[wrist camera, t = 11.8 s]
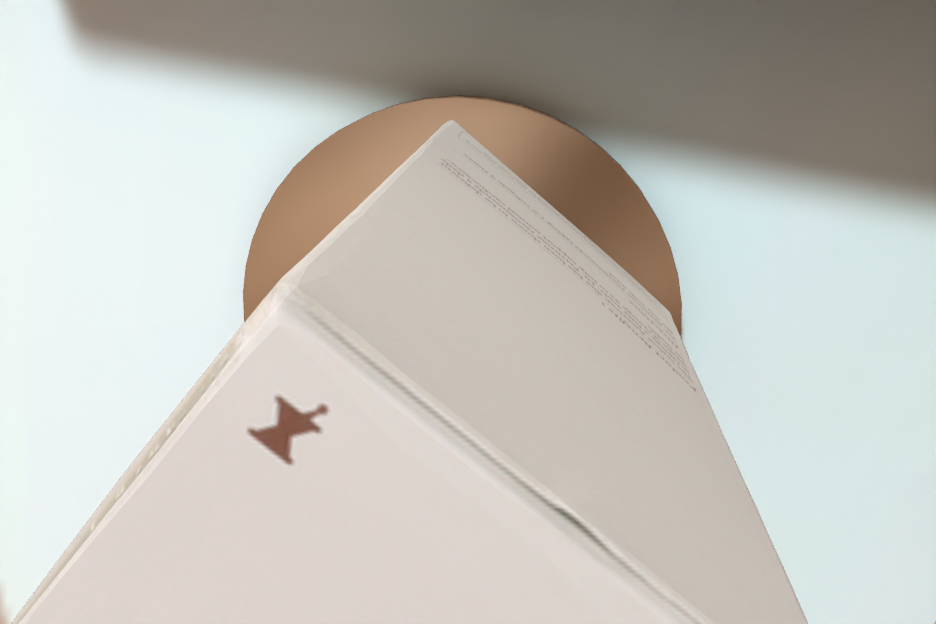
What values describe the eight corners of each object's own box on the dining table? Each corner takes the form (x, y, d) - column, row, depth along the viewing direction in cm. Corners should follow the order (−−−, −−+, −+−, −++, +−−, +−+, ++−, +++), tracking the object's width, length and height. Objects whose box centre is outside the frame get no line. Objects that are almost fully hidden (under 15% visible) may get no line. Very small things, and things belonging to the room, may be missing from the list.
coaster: (767, 244, 19) (776, 253, 19) (531, 561, 23) (530, 579, 22) (371, 5, 18) (364, 4, 18) (190, 375, 22) (178, 387, 21)
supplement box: (266, 330, 20) (-121, 743, 9) (453, 109, 18) (278, 257, 6) (481, 505, 22) (400, 1083, 10) (683, 317, 19) (898, 773, 7)
